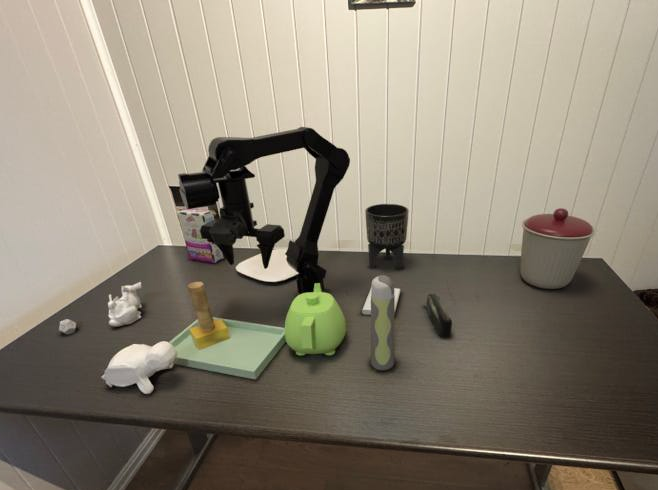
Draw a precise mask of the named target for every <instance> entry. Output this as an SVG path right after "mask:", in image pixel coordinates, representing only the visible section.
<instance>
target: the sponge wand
mask: <svg viewBox="0 0 658 490" xmlns="http://www.w3.org/2000/svg"><path fill="white" fill-rule="evenodd" d="M187 289H188V292H189V296H190V298H191V302H192V305H193V308H194V311H195V314H196V318H197V319H198V321H199V326H196V327H193V328H190V329H189V331H190V334H191V337H192V340H193V341H194V343H195V344H196V346H197V347H198V349H199V350H200V349H203V348H205V347H208V346H211V345H213V344H216V343H218V342H221V341H224V340H226V339H229V338H230V336H229V332H228V328H227V327H226V325H225V324H224V323H223V322H222V321H221V319H220V318H221V317H218V318H219V319H216V320H213V317H214V316H213V313H212V311H211V306H210V304H209V300H208V297H207V293H206V289H205V286H204V283H203V282H202V281H194V282H190V283H189V284H188V285H187Z"/></svg>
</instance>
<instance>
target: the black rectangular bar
mask: <svg viewBox="0 0 658 490" xmlns="http://www.w3.org/2000/svg"><path fill="white" fill-rule="evenodd" d="M424 306H425V308H426V310H427V311H428V312H427V313H428V316H429V318H430V320H431V322H432V324H433V327H434V329H435V331H436V332H437V334H438V335H439V336H440V337H443V338H449V337H451V334H452V327H453V321H452V319H451V317H450V316H449V314H448V313H447V311H446V309H445V308H444V306H443V302H442V300H441V297H440V296H439V295H437V294H436V293H430V294H428V295H427V298H426V302H424Z"/></svg>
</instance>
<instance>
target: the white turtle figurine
mask: <svg viewBox="0 0 658 490" xmlns="http://www.w3.org/2000/svg"><path fill="white" fill-rule="evenodd" d="M177 355H178V353H177V350H176V349H175V348H174V347H173V346H172V345H171V344H170V343H169V341H165V340H163V341H159V342H157V343H156V344H154V345H152V346H151V345H147V344H145V343H142V344H141V343H139V344H138V343H133V344H131V345H128V346H126V347H124V348H122V349H121V350H119V351H118V352H117V353H116V354H115V355H114V356H112V358H111V359H110V360H109V363H108V365H107V368H105V370H104V374H103V375H102V376H101V377H100V378H101V379H103V380H104V381H105V383H106V385H108V387H110V388H112V387H113V386H115V387H121V388H123V387H129V386H132V385H134V384H136V385H137V387H138V389H139V391H140V392H142V393H143V394H145V395H150V394H151V393H152V392H153V391H154V389H155V387H154V385H153V384H152V382H151V380H150V379H149V378H151V377H152V376H153V375H154V374H155V373H156V372H159V371H161V370H162V371H163V370H171V369H173V368H174V365H175V364H173V362H174V360H175V359H176V358H177Z"/></svg>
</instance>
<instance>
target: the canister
mask: <svg viewBox="0 0 658 490" xmlns="http://www.w3.org/2000/svg"><path fill="white" fill-rule="evenodd" d="M521 227H522V228H523V230H522V239H521V240H522V241H521V249H520V250H521V251H520V267H519V269H520V270H519V271H520V276H521V278H522V280H524V282H526V283H527V284H529V285H531V286H533V287H535V288H539V289H545V290H546V289H547V290H556V289H557V290H559V289H562V288H565V287H566V286H568V285H569V284H570V283H571V281H572V280H573V278H574V276H575V274H576V272H577V270H578V268H579V265H580V263H581V261H582V260H583V256H584V254H585V253H586V250H587V247H588V246H589V243H590V242H591V241H590V240H591V238H592V237H593V236H595V235H596V234H597V233H596V232H597V229H596V228H595V227H594V226H593V225H591V223H589V222H588V221H586V220H585V219H582V218H580V217H577V216H573V215H569V211H568V209H566V208H561V207H560V208H556V209H555V210H554V211H553V213H539V214H535V215H532V216H530V217H527V218H525V219H523V220H522V221H521Z"/></svg>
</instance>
